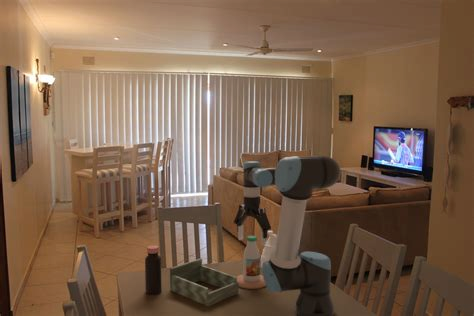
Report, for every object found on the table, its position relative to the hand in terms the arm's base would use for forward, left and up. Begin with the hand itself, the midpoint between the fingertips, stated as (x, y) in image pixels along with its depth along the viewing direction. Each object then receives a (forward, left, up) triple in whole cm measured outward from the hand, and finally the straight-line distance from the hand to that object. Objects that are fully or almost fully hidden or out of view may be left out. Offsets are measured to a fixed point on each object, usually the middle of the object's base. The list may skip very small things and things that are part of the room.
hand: (251, 242), depth 206 cm
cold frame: (+8, +22, -19) cm, 30 cm away
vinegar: (+24, +37, -19) cm, 48 cm away
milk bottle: (0, 0, -18) cm, 18 cm away
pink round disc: (0, 0, -19) cm, 19 cm away
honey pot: (+6, -24, -19) cm, 32 cm away
